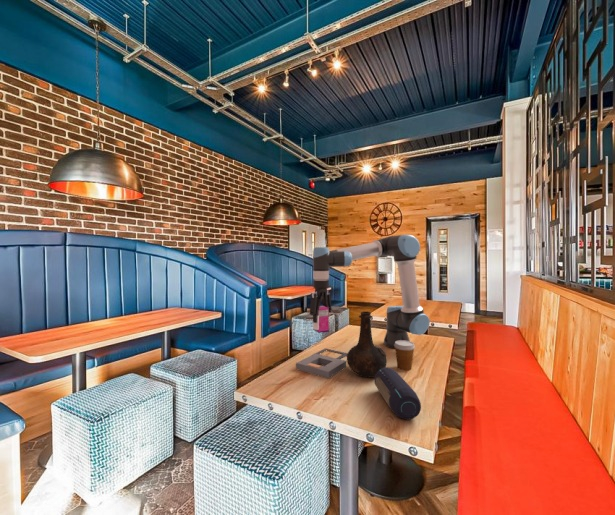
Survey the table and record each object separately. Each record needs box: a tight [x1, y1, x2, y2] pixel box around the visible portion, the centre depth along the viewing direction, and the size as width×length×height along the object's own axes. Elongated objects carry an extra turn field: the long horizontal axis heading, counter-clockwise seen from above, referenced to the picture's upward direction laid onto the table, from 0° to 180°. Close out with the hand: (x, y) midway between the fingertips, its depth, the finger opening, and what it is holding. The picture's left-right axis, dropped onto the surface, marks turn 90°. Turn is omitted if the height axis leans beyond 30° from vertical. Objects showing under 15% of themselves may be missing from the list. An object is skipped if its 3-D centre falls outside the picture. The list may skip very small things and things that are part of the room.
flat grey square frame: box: [315, 348, 348, 360], centre depth 159 cm, size 15×15×1 cm
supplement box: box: [312, 305, 330, 334], centre depth 142 cm, size 6×6×12 cm
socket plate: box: [295, 352, 347, 379], centre depth 142 cm, size 18×16×3 cm
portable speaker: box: [374, 366, 422, 420], centre depth 108 cm, size 25×10×10 cm, turn 4°
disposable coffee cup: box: [394, 340, 416, 372], centre depth 142 cm, size 10×10×12 cm
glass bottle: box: [346, 311, 388, 378], centre depth 136 cm, size 18×18×28 cm
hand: (321, 327), depth 142 cm, fingers closed on supplement box, 8 cm apart
